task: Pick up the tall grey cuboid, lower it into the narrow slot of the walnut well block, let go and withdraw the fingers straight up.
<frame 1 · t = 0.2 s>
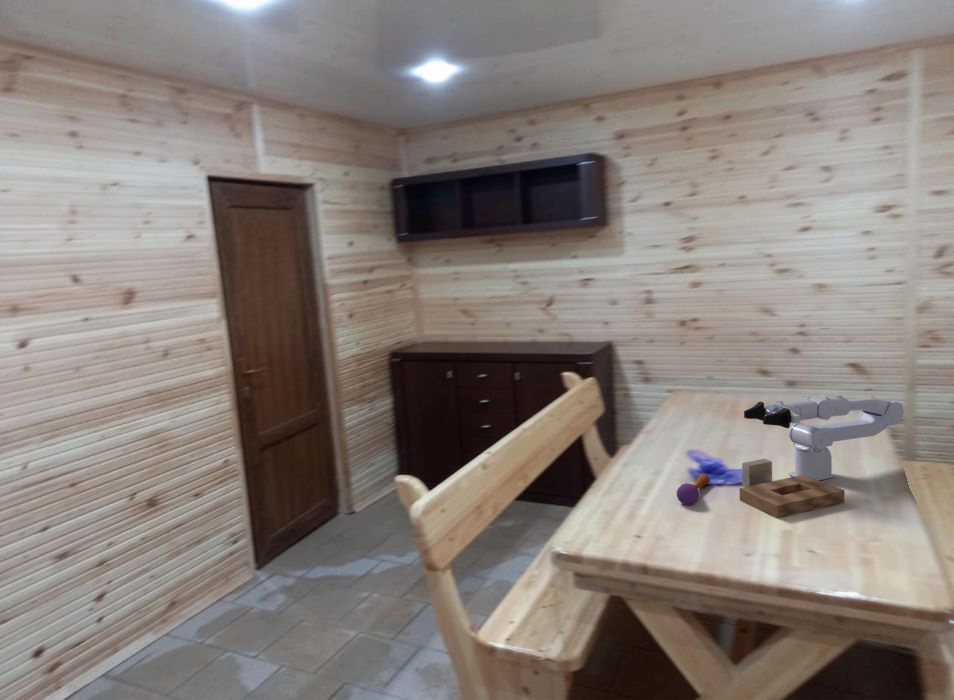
hand: (754, 417, 181), 21 cm above the table, tool horizontal, fingers open, 7 cm apart
tall grey cuboid: (757, 485, 186), on the table
purple and brown maraca: (695, 496, 183), on the table
well: (791, 501, 173), on the table
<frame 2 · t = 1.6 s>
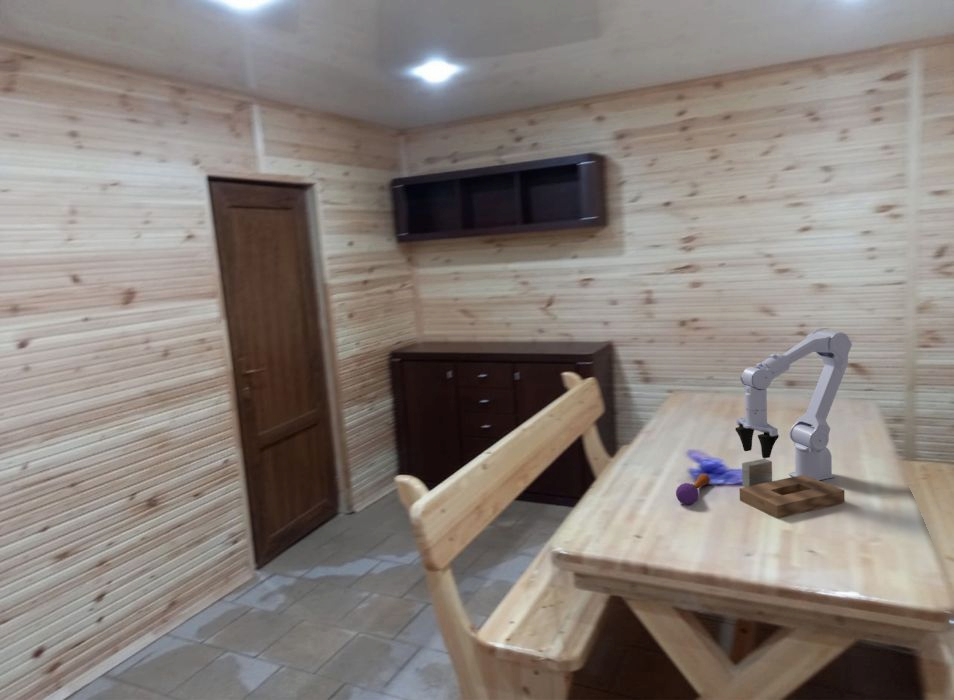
hand: (756, 454, 185), 9 cm above the table, tool pointing down, fingers open, 7 cm apart
nothing on the table moved.
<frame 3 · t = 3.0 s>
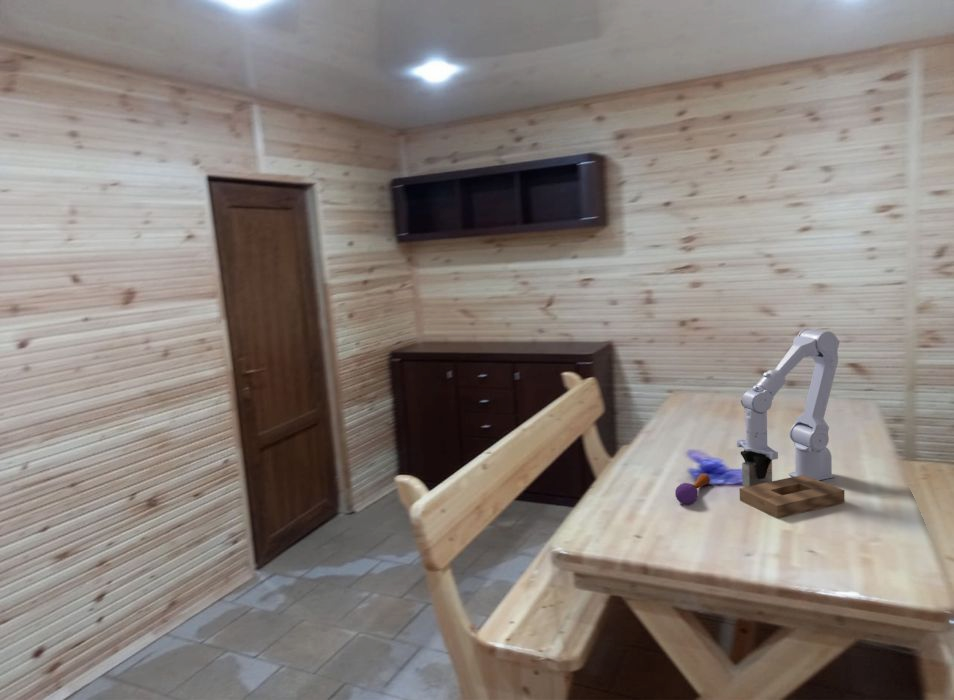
hand: (757, 476, 186), 3 cm above the table, tool pointing down, fingers closed on tall grey cuboid, 3 cm apart
tall grey cuboid: (757, 484, 186), on the table, touching gripper
everything else where it was.
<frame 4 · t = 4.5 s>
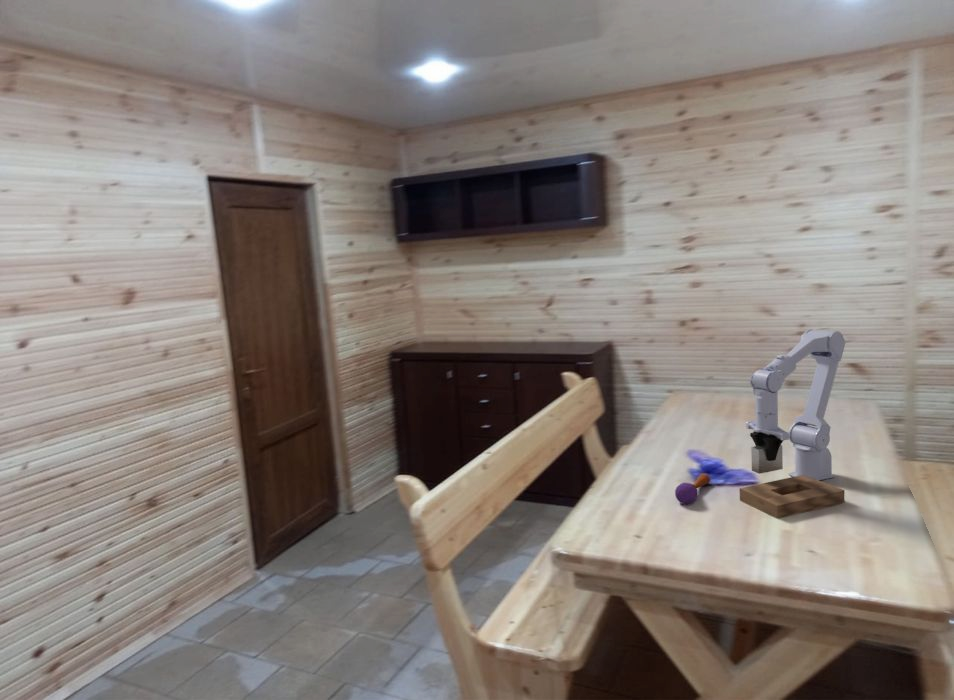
hand: (767, 458, 181), 9 cm above the table, tool pointing down, fingers closed on tall grey cuboid, 3 cm apart
tall grey cuboid: (767, 469, 181), point 6 cm above the table, touching gripper
everything else where it was.
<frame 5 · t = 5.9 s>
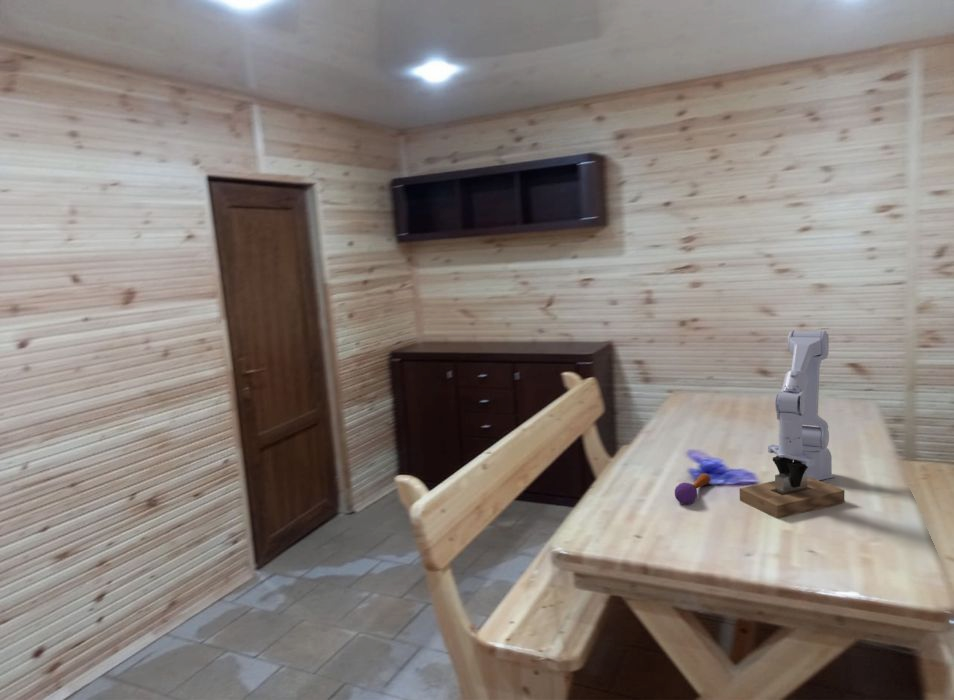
hand: (790, 484, 172), 5 cm above the table, tool pointing down, fingers closed on tall grey cuboid, 3 cm apart
tall grey cuboid: (791, 498, 173), point 1 cm above the table, touching gripper
everything else where it was.
when the fingers open (5 cm above the table, at t = 6.3 s): tall grey cuboid stays where it is, resting on well.
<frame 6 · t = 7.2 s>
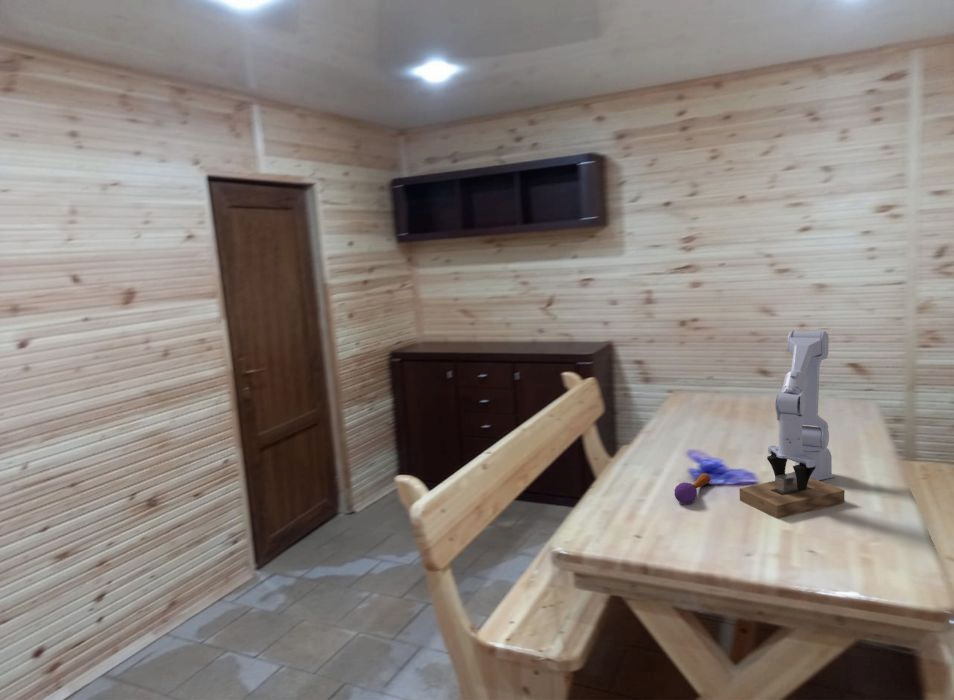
hand: (790, 485, 172), 5 cm above the table, tool pointing down, fingers open, 7 cm apart
tall grey cuboid: (791, 499, 173), resting on well
everything else where it was.
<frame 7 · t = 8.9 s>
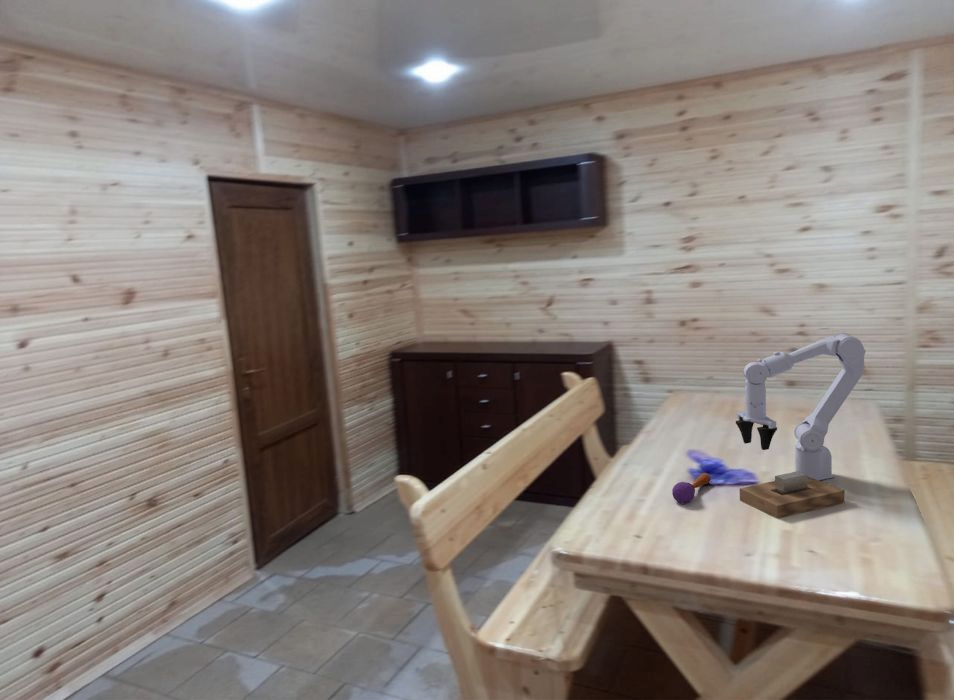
hand: (756, 446, 192), 9 cm above the table, tool pointing down, fingers open, 7 cm apart
nothing on the table moved.
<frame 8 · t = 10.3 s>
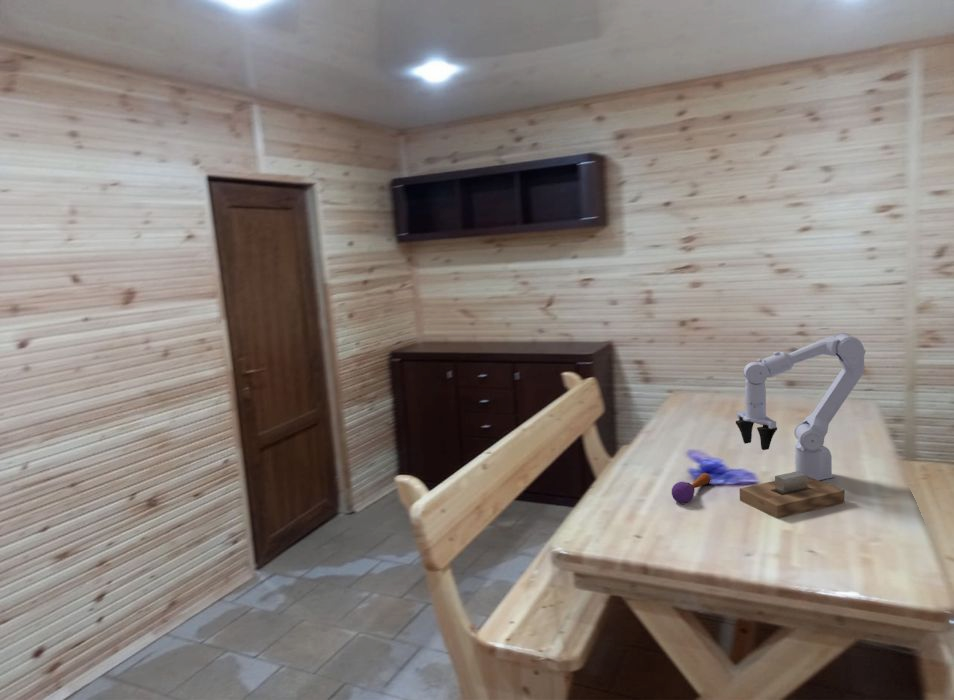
hand: (756, 446, 192), 9 cm above the table, tool pointing down, fingers open, 7 cm apart
at the end: tall grey cuboid 0.1 cm off-centre on the well, point 0.5 cm above the well's base; the gripper is holding nothing; tall grey cuboid tilted 0° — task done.
